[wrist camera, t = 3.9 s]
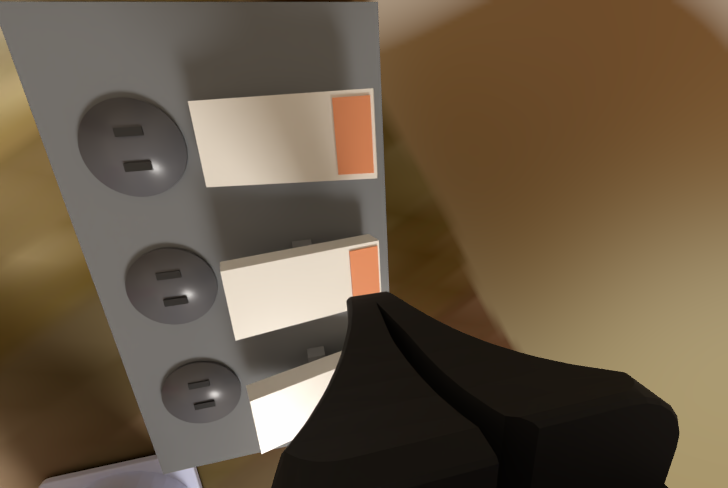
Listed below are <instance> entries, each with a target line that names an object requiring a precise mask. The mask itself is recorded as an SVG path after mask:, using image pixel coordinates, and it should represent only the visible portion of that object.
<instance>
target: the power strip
mask: <svg viewBox="0 0 728 488" xmlns="http://www.w3.org/2000/svg"><path fill="white" fill-rule="evenodd" d="M0 26H1V29H2V31H3V34H4V37H5V40H6V42H7V45H8V48H9V51H10V53H11V56H12V59H13V62H14V64H15V67H16V70H17V73H18V75H19V78H20V81H21V84H22V86H23V89H24V92H25V95H26V97H27V100H28V103H29V106H30V108H31V111H32V114H33V117H34V119H35V122H36V125H37V128H38V130H39V133H40V136H41V139H42V141H43V144H44V147H45V150H46V152H47V155H48V158H49V161H50V164H51V166H52V169H53V172H54V175H55V177H56V180H57V183H58V186H59V188H60V191H61V194H62V197H63V199H64V202H65V205H66V208H67V210H68V213H69V216H70V219H71V221H72V224H73V227H74V230H75V232H76V235H77V238H78V241H79V243H80V246H81V249H82V252H83V254H84V257H85V260H86V263H87V265H88V268H89V271H90V274H91V276H92V279H93V282H94V285H95V287H96V290H97V293H98V296H99V298H100V301H101V304H102V307H103V309H104V312H105V315H106V318H107V320H108V323H109V326H110V329H111V331H112V334H113V337H114V340H115V342H116V345H117V348H118V351H119V353H120V356H121V359H122V362H123V364H124V367H125V370H126V373H127V375H128V378H129V381H130V384H131V386H132V389H133V392H134V395H135V397H136V400H137V403H138V406H139V408H140V411H141V414H142V417H143V419H144V422H145V425H146V428H147V430H148V433H149V436H150V439H151V441H152V444H153V447H154V450H155V452H156V455H157V458H158V461H159V464H160V466H161V469H162V472H163V474H167V473H171V472H176V471H180V470H184V469H189V468H193V467H198V466H202V465H206V464H211V463H215V462H219V461H224V460H228V459H232V458H237V457H241V456H246V455H250V454H254V453H259V452H261V450H260V446H259V442H258V438H257V434H256V429H255V425H254V420H253V416H252V411H251V407H250V402H249V398H248V393H247V388H246V385H249V384H252V383H255V382H257V381H260V380H263V379H266V378H268V377H271V376H274V375H277V374H279V373H282V372H285V371H288V370H290V369H293V368H296V367H299V366H301V365H304V364H307V363H310V362H312V361H315V360H318V359H320V358H323V357H326V356H329V355H331V354H334V353H337V352H340V351H342V349H343V345H344V341H345V337H346V333H347V327H348V315H347V311H345V312H341V313H337V314H334V315H330V316H326V317H322V318H319V319H315V320H311V321H307V322H304V323H300V324H296V325H292V326H289V327H285V328H281V329H278V330H274V331H270V332H266V333H263V334H259V335H255V336H251V337H248V338H244V339H240V340H236V341H235V336H234V332H233V327H232V323H231V318H230V314H229V309H228V305H227V300H226V296H225V291H224V287H223V282H222V277H221V273H220V262H222V261H227V260H233V259H238V258H243V257H249V256H254V255H259V254H265V253H270V252H275V251H281V250H286V249H291V248H297V247H302V246H307V245H312V244H318V243H323V242H328V241H334V240H339V239H344V238H350V237H355V236H360V235H366V234H370V235H371V236H373V237H374V238H376V239H377V240H379V254H380V275H381V292H385V291H387V292H389V277H388V251H387V226H386V200H385V175H384V149H383V124H382V98H381V73H380V49H379V48H380V47H379V22H378V2H0ZM368 88H373V90H374V108H375V129H376V151H377V173H378V175H377V178H375V179H356V180H337V181H318V182H299V183H279V184H260V185H241V186H222V187H206V183H205V178H204V174H203V169H202V165H201V160H200V155H199V151H198V146H197V142H196V137H195V132H194V128H193V123H192V118H191V114H190V109H189V105H188V101H197V100H211V99H225V98H240V97H254V96H268V95H282V94H297V93H311V92H325V91H339V90H354V89H368ZM291 441H292V440H291ZM291 441H289V442H287V443H285V444H283V445H280V446H278V447H276V448H281V447H285V446H288V445H289V444H290V443H291ZM276 448H274V449H276Z"/></svg>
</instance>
